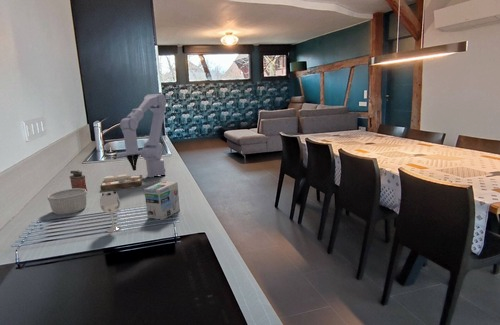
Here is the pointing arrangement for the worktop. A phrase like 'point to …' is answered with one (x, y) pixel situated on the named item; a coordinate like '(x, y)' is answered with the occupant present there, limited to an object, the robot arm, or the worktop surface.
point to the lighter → (77, 180)
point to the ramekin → (68, 201)
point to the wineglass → (110, 206)
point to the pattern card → (121, 182)
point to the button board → (122, 184)
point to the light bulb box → (162, 200)
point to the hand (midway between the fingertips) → (134, 170)
